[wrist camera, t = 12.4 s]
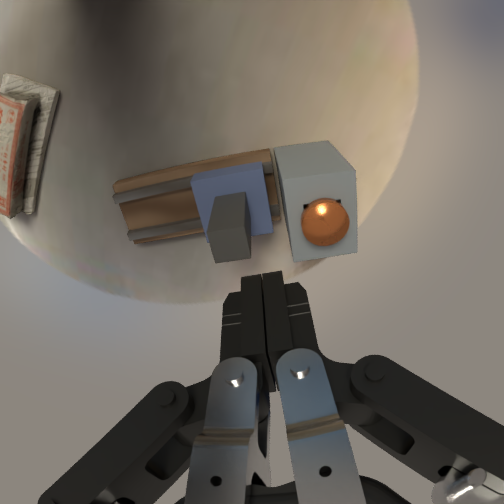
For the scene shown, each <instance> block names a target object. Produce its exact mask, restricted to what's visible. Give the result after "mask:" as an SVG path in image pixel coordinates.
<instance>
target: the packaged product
mask: <svg viewBox="0 0 504 504" xmlns="http://www.w3.org/2000/svg"><path fill="white" fill-rule="evenodd" d="M59 93H60V90H58V89H55V88H53V87H50V86H47V85H44V84H41V83H38V82H35V81H33V80H30V79H27V78H24V77H21V76H19V75H13V74H3V80H2V85H1V87H0V213H1V214H2V215H5V216H7V217H8V218H10V219H11V218H13V217H15V215H16V214H18V213H20V212H21V211H22V212H24V213H26V214H27V215H28V214H32V213H33V212H35V205H36V197H37V191H38V186H39V181H40V176H41V170H42V165H43V161H44V156H45V152H46V147H47V143H48V138H49V134H50V130H51V125H52V121H53V117H54V113H55V109H56V105H57V101H58V97H59Z"/></svg>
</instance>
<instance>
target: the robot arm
mask: <svg viewBox="0 0 504 504" xmlns="http://www.w3.org/2000/svg"><path fill="white" fill-rule="evenodd" d="M262 278H263V280H262ZM222 315H223V318H222V331H221V350H220V363H219V364H218V365H217V366H216V367H215V369H214V371H213V373H212V375H211V376H210V377H209V378H207V379H205V380H204V381H201V382H199V383H196V384H193V385H191V386H188V387H184V386H183V385H182V384H180V383H178V382H174V381H168V382H164V383H161V384H159V385H157V386H156V387H154V388H153V389H152V390H151V391H150V392H149V393H148V394H147V395H146V396H145V397H144V398H143V399H142V400H141V401H140V402H139V403H138V404H137V405H136V406H135V407H134V408H133V409H132V410H131V411H130V412H129V413H128V414H127V415H126V416H125V417H124V418H123V419H122V420H120V421H119V422H118V423H117V424H116V425H115V426H114V427H113V428H112V429H111V430H110V431H109V432H108V433H107V434H106V435H105V436H104V437H103V438H102V439H101V440H100V441H99V442H98V443H97V444H96V445H95V446H93V447H92V448H91V449H90V450H89V451H88V452H87V453H86V454H85V455H84V456H83V457H82V458H81V459H80V460H79V461H78V462H77V463H75V464H74V465H73V466H72V467H71V468H70V469H69V470H68V471H67V472H66V473H65V474H64V475H63V476H62V477H60V478H59V479H58V480H57V481H56V482H55V483H54V484H53V485H52V486H51V487H50V488H49V489H48V490H46V491H45V492H44V493H43V494H42V495H41V497H40V498H39V500H38V504H153V503H155V501H157V499H159V497H161V496H162V495H163V494H164V493H165V492H166V491H167V490H168V489H169V488H170V487H171V486H172V485H173V484H174V483H175V481H177V480H178V478H179V477H180V476H181V475H182V474H183V473H184V472H185V471H186V470H187V469H188V468H189V467H190V468H189V474H188V481H187V488H186V495H185V497H183V498H181V499H180V500H179V501H177V502H176V503H175V504H411V503H410V502H408V501H407V500H405V499H404V498H402V497H401V496H400V495H399V494H397V493H396V492H394V491H393V490H392V489H390V488H389V487H388V486H386V485H385V484H383V483H381V482H379V481H377V480H375V479H372V478H369V477H365V476H360V475H359V474H358V470H357V466H356V463H355V459H354V455H353V452H352V448H351V445H350V441H349V438H348V434H347V431H346V427H345V425H344V424H349V425H350V426H351V427H352V428H353V429H355V430H356V431H357V432H359V433H360V434H362V435H363V436H364V437H366V438H367V439H369V440H370V441H371V442H373V443H374V444H376V445H377V446H378V447H380V448H381V449H383V450H384V451H386V452H387V453H389V454H390V455H392V456H393V457H395V458H396V459H397V460H399V461H400V462H402V463H404V464H405V465H407V466H408V467H410V468H411V469H413V470H414V471H416V472H417V473H419V474H420V475H422V476H423V477H425V478H427V479H428V480H430V481H432V482H433V483H435V485H434V487H433V490H432V502H433V504H504V426H503V425H501V424H499V423H497V422H496V421H494V420H492V419H490V418H489V417H487V416H485V415H483V414H482V413H480V412H478V411H476V410H475V409H473V408H471V407H470V406H468V405H466V404H465V403H463V402H461V401H459V400H458V399H456V398H454V397H453V396H451V395H449V394H447V393H446V392H444V391H442V390H440V389H439V388H437V387H436V386H434V385H432V384H430V383H429V382H427V381H425V380H424V379H422V378H420V377H419V376H417V375H415V374H414V373H412V372H410V371H409V370H407V369H405V368H404V367H402V366H400V365H399V364H397V363H395V362H394V361H392V360H390V359H389V358H387V357H384V356H381V355H369V356H365V357H363V358H361V359H360V360H358V361H357V362H356V363H355V364H349V363H339V362H335V361H332V360H330V359H328V358H326V357H325V356H324V355H323V354H322V353H321V352H320V350H319V347H318V344H317V339H316V334H315V329H314V325H313V320H312V316H311V311H310V307H309V302H308V297H307V293H306V290H305V289H304V288H303V287H302V286H301V285H300V283H298V282H296V283H290V284H284V281H283V275H282V271H276V272H270V273H264V274H262V276H261V274H258V275H252V276H246V277H241V291H240V292H233V293H229V294H228V296H227V298H226V300H225V301H224V303H223V314H222ZM275 381H276V384H275ZM276 385H277V389H278V391H280V396H281V401H282V407H283V412H284V418H285V424H286V429H287V438H288V445H289V450H290V455H291V462H292V467H293V472H294V478H295V481H293V482H290V483H287V484H284V485H281V486H278V487H271V471H270V465H269V444H270V397H269V392H275V391H276Z"/></svg>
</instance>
